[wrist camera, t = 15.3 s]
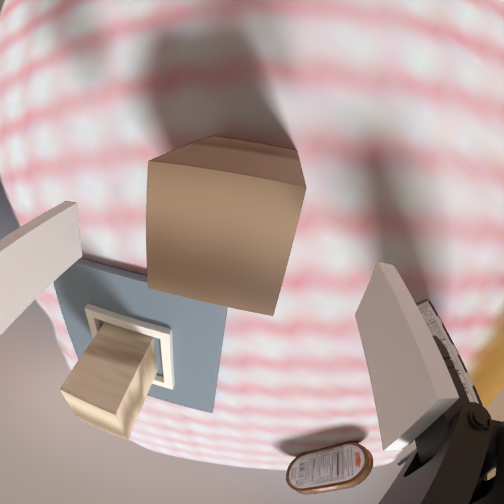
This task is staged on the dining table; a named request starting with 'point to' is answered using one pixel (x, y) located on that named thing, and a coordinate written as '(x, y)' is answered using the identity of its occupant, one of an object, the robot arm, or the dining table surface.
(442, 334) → the candy bar box
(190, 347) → the baseboard
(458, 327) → the dining table surface
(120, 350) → the birch block
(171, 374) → the square frame
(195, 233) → the walnut block
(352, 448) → the tin
